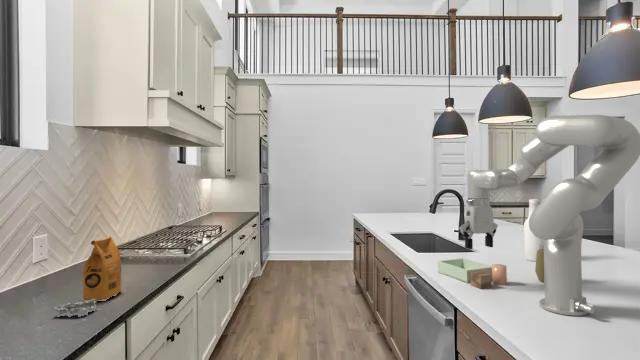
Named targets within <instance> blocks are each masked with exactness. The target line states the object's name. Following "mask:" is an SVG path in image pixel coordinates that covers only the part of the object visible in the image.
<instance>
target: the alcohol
mask: <svg viewBox="0 0 640 360" xmlns="http://www.w3.org/2000/svg"><path fill="white" fill-rule="evenodd" d="M539 204H540V202H539V199H536V198H529V199H528V205H529V206H528V216H527V219H526V220H525V221H524V223H523V235H524V236H523V239H524V241H523V242H524V243H523V245H524V259H525V260H526V261H527V262H531V263H536V256H537V250H539V249H540V244H543V240H544V239H540V238H538V237H536V236H535V235H534V234H533V233H532V232H531V230H530V227H529V219H530V216H531V214H532V213H533V211H534V210H535V209H536V207H537V206H538V205H539Z"/></svg>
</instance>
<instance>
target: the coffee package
mask: <svg viewBox="0 0 640 360" xmlns="http://www.w3.org/2000/svg"><path fill="white" fill-rule="evenodd" d="M90 245H93V246H94V247H93V248H92V250H91V254H90V255H89V256H88V258H87V260H86V262H85V263H84V267H83V270H82V279H83V280H82V281H83V287H82V288H83V292H82V293H83V294H82V295H83V296H82V298H83V301H85V300H91V299H98V300H102V299H107V298H109V297H111V296H113V295H115V294H118V293H119V292H120V291H121V292H122V262H121V261H122V259H121V253H120V250H119V248H118V246H117V245H116V243H115V241H114V239H113V238H112V236H110V235H109V236H106V238H103V239H95V240H94V239H92V241H91V242H90ZM121 292H120V293H121ZM120 293H119V294H120ZM119 294H118V295H119ZM111 298H112V297H111Z"/></svg>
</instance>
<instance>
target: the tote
mask: <svg viewBox="0 0 640 360" xmlns="http://www.w3.org/2000/svg"><path fill="white" fill-rule="evenodd" d="M480 271H482V272H485V273H488V274H491V281H492V265H488V264H484V263H481V262H478V261H475V260H470V259H467V258H464V257H463V258H462V257H461V258H454V259H451V258H450V259H444V260H437V273H438V274H441V275H444V276H446V277H449V278H452V279H455V280H458V281H460V282H463V283H464V284H465V283H466V284H471V273H472V272H480Z"/></svg>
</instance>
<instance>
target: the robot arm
mask: <svg viewBox="0 0 640 360" xmlns="http://www.w3.org/2000/svg"><path fill="white" fill-rule="evenodd" d="M534 133H535V135H534V136H533V137H532V138H530V139H528V140H527V141H526V142H525V143H523V144H522V145H521V147H520V153H521V156H520V157H519V158H518V159H517V160H516V161H515V162H514V163H513V164H511V165H509V166H508V167H507V168H492V169H486V170H485V169H484V170H483V169H482V170H481V169H475V170H470V171H468V173H467V200H466V204H467V206H466V209H465V217H464V223H463V224H461V225H460V226H459V228H458V229H459V231H460V234H461V235H462V236H463V238H464V248H465V249H467V250H468V249H469V250H473V249H474V248H473V246H474V245H473V236H474V234H485V237H484V246H485V247H488V248H493V247H494V237H495V234H496V233H497V228H498V226H499V225H498V224H497V223H496V222H494V221H495V220H494V213H493V208H492V206H491V205H490V204H491V203H490V195H491V194H490V191H503V190H511V189H514V188H516V187H518V186H520V184H522V183H524V182H525V181H527V180H528V179H529V178H531V177H532V176H533V175H534V174H535V173H536V172H537V171H538V170H539V168H540V167H541V166H542V165H543V164H544V163H546V162H547V161H549V160H550V159H552V158H554V156H556V155H557V154H559V153H560V152H562V151H564V150H565V149H567V148H568V147H569V146H570V147H572V146H574V147H590V148H591V147H593V148H594V147H595V148H601V149H600V151H599V153H598V154H596V155H595V156H594V157H593V158H592V159H591V160H590V161H589V162H588V163H587V165H586V166H585V168H583V170H582V171H581V172H580V173H579V174H578V175H577V176H576V177H573V178H565V179H563V180H561V181H559V182H558V183H556V184H555V185H554V186H552V187H551V189H550V190H549V191H548V192H547V194H546V195H545V196H544V197H543V198H542V200H541V201H540V202H539V203H538V206H537V207H536V209H535V210H534V211H533V213H532V214H531V216H530V219H529V227H530V230H531V232H532V233H533V234H534V235H535V236H536V237H538V238H540V239H544V240H545V242H544V282H543V283H544V298H541V299H540V300H539V305H538V306H540V307H541V308H542V309H544V310H546V311H549V312H551V313H555V314H559V315H560V314H561V315H565V316H572V317H574V316H576V317H577V316H578V317H579V316H580V317H581V316H586V315H589V313H590V314H594V313H595V312H596V304H592V303H588V301H587V297H586V296H583V276H582V274H583V273H582V272H583V271H582V241H583V233H584V220H583V217H582V216H581V215H580V214H581V213H582V212H583V211H589V210H593V209H596V208H598V207H599V206H600V205H601V203H602V202H604V200H605V199H606V197H607V196H608V195H609V194H610V193H611V192H612V191H613V189H614V188H615V187H616V186H617V185H618V184H619V183H620V181H621V180H623V178H624V177H625V176H626V175H627V173H629V171H630V170H631V169H632V168H633V167H634V165H635V164H636V163H637V161H638V159H640V132H639V130H638V129H637V128H636V126H635V125H634V124H633V123H631V121H628V120H627V119H624V118H622V117H616V116H610V115H605V114H604V115H603V114H582V115H580V114H575V115H572V114H571V115H549V116H546V117H545V118H543V119H541V120H540V121H539V122H538V124H537V125H536V127H535V132H534Z"/></svg>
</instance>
